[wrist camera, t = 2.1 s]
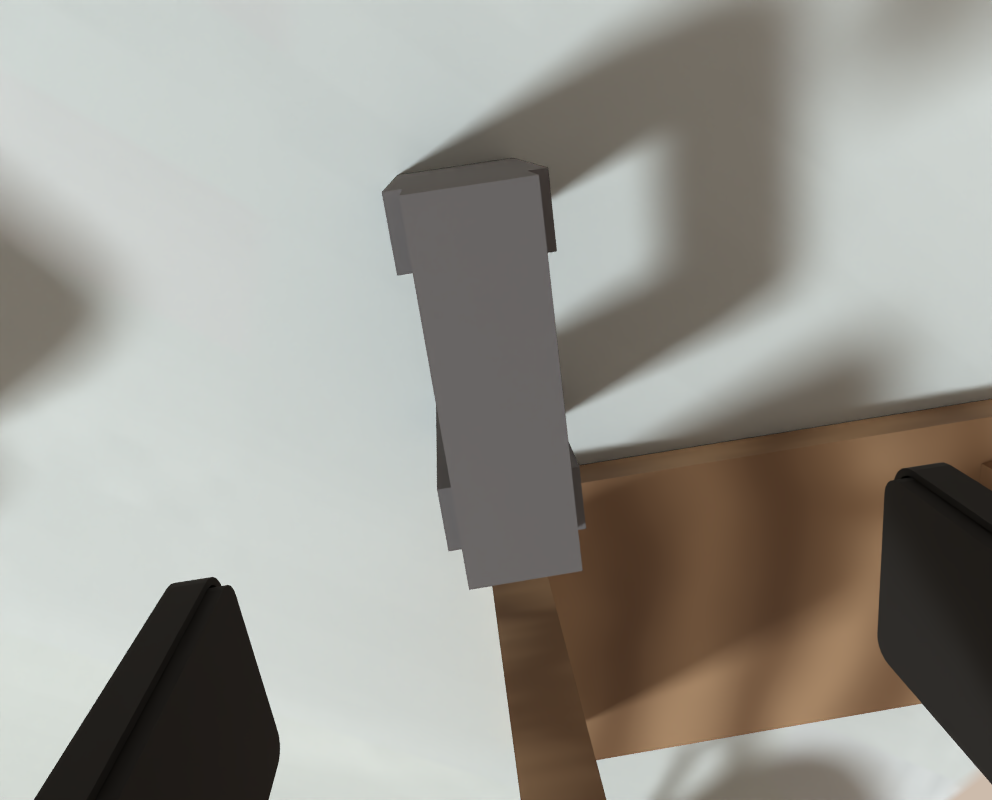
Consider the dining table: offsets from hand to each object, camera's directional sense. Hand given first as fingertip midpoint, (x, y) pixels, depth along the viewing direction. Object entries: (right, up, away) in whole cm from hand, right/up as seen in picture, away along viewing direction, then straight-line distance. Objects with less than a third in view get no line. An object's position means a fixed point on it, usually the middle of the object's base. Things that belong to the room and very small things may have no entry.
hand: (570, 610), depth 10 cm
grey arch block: (-2, +6, +16) cm, 17 cm away
